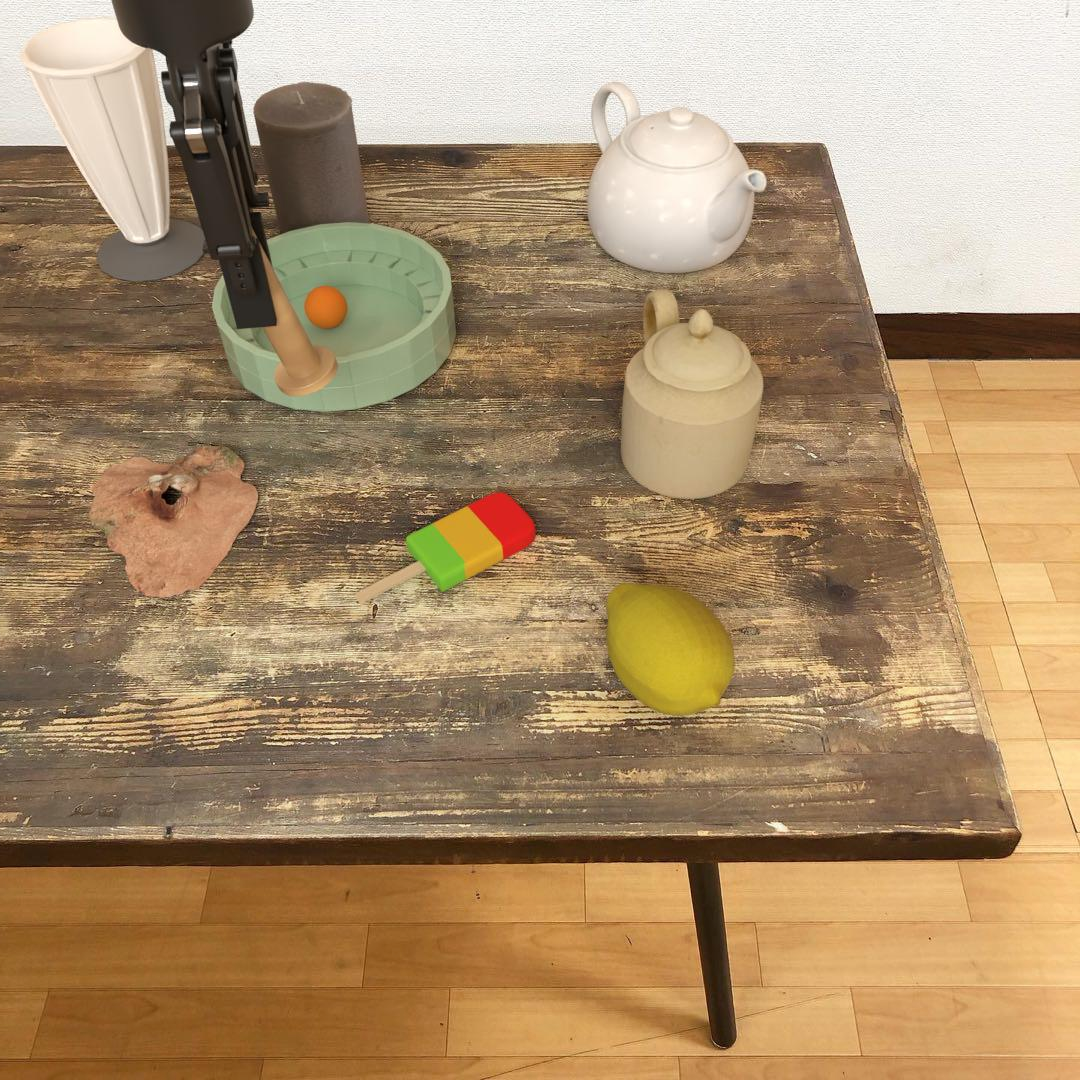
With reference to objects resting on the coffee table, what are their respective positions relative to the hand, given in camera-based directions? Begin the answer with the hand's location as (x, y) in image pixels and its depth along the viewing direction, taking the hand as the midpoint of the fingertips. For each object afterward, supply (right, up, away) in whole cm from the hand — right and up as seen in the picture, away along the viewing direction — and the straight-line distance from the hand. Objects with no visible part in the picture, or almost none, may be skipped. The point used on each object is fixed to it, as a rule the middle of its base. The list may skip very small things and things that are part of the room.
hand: (258, 309), depth 76 cm
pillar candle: (-3, +17, +40) cm, 43 cm away
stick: (+2, -4, +5) cm, 7 cm away
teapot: (+33, +16, +38) cm, 53 cm away
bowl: (+1, +3, +26) cm, 27 cm away
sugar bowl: (+31, -8, +17) cm, 36 cm away
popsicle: (+12, -18, +8) cm, 23 cm away
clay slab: (-9, -14, +12) cm, 21 cm away
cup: (-21, +14, +37) cm, 45 cm away
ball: (0, +6, +26) cm, 26 cm away
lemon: (+29, -26, 0) cm, 39 cm away
